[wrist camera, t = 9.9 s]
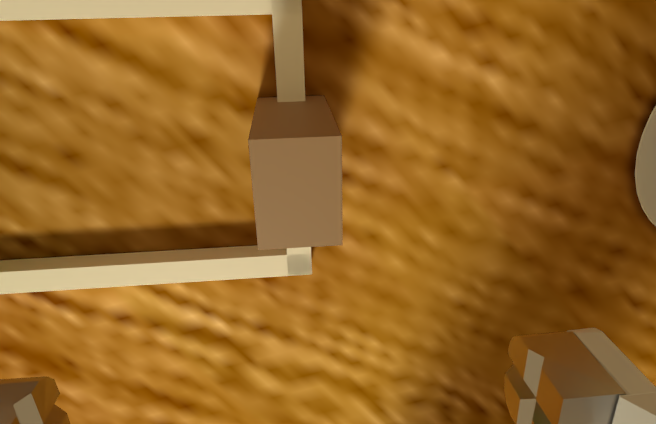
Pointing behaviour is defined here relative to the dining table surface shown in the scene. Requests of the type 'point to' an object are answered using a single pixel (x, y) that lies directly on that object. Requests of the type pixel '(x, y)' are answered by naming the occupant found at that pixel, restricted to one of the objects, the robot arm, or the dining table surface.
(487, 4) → the dining table surface
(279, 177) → the frame
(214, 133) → the dining table surface
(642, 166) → the checkered hat
